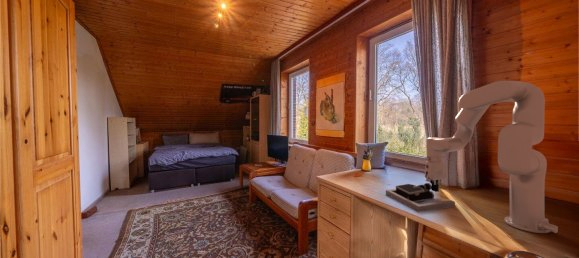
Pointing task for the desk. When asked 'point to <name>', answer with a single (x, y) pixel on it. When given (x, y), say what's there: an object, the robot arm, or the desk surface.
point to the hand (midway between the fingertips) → (435, 190)
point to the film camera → (415, 192)
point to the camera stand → (420, 206)
